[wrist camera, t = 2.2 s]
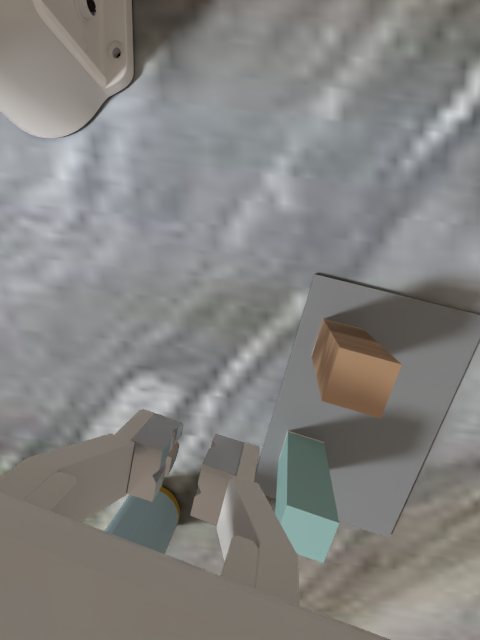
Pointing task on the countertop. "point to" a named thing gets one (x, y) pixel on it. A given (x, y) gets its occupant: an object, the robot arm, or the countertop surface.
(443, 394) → the mat
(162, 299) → the countertop surface
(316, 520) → the teal block
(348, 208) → the countertop surface
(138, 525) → the bottle
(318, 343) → the walnut block
